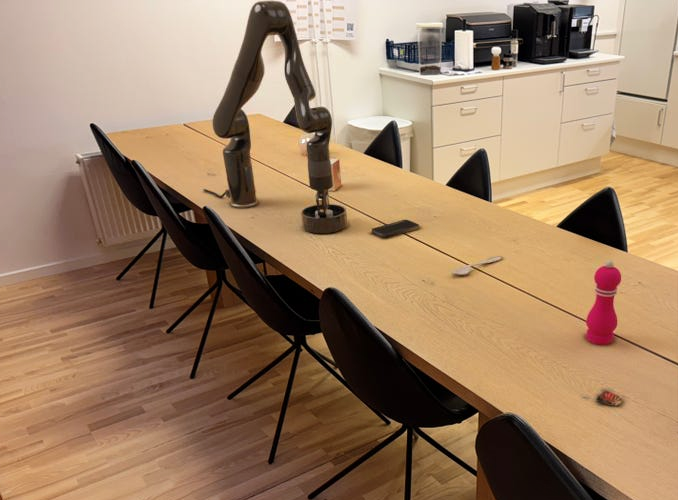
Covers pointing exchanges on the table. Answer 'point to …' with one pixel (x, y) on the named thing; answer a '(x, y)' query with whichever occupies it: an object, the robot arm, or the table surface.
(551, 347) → the table surface
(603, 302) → the pepper mill
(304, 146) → the potion bottle
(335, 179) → the small box
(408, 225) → the phone
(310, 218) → the bowl
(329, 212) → the grey short cylinder
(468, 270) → the spoon
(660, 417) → the table surface
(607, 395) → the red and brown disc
